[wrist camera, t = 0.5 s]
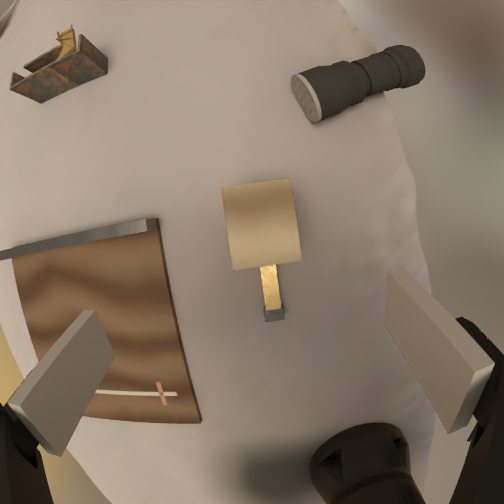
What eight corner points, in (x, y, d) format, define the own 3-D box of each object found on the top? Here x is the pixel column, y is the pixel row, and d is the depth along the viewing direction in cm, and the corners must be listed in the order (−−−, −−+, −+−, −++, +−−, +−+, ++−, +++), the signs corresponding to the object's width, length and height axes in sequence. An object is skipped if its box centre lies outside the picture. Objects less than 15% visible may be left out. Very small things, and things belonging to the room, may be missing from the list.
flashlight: (394, 53, 29) (410, 34, 23) (416, 89, 29) (436, 73, 24) (288, 88, 30) (293, 66, 24) (312, 128, 30) (321, 112, 25)
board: (201, 419, 35) (196, 437, 31) (62, 409, 36) (50, 421, 32) (158, 218, 32) (145, 218, 28) (13, 248, 33) (-4, 252, 29)
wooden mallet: (297, 311, 33) (310, 351, 23) (251, 317, 33) (247, 359, 23) (281, 189, 31) (290, 178, 21) (233, 196, 31) (221, 187, 21)
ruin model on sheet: (109, 57, 30) (73, 23, 20) (108, 75, 30) (70, 43, 21) (44, 86, 30) (3, 65, 21) (43, 104, 31) (-1, 85, 21)
